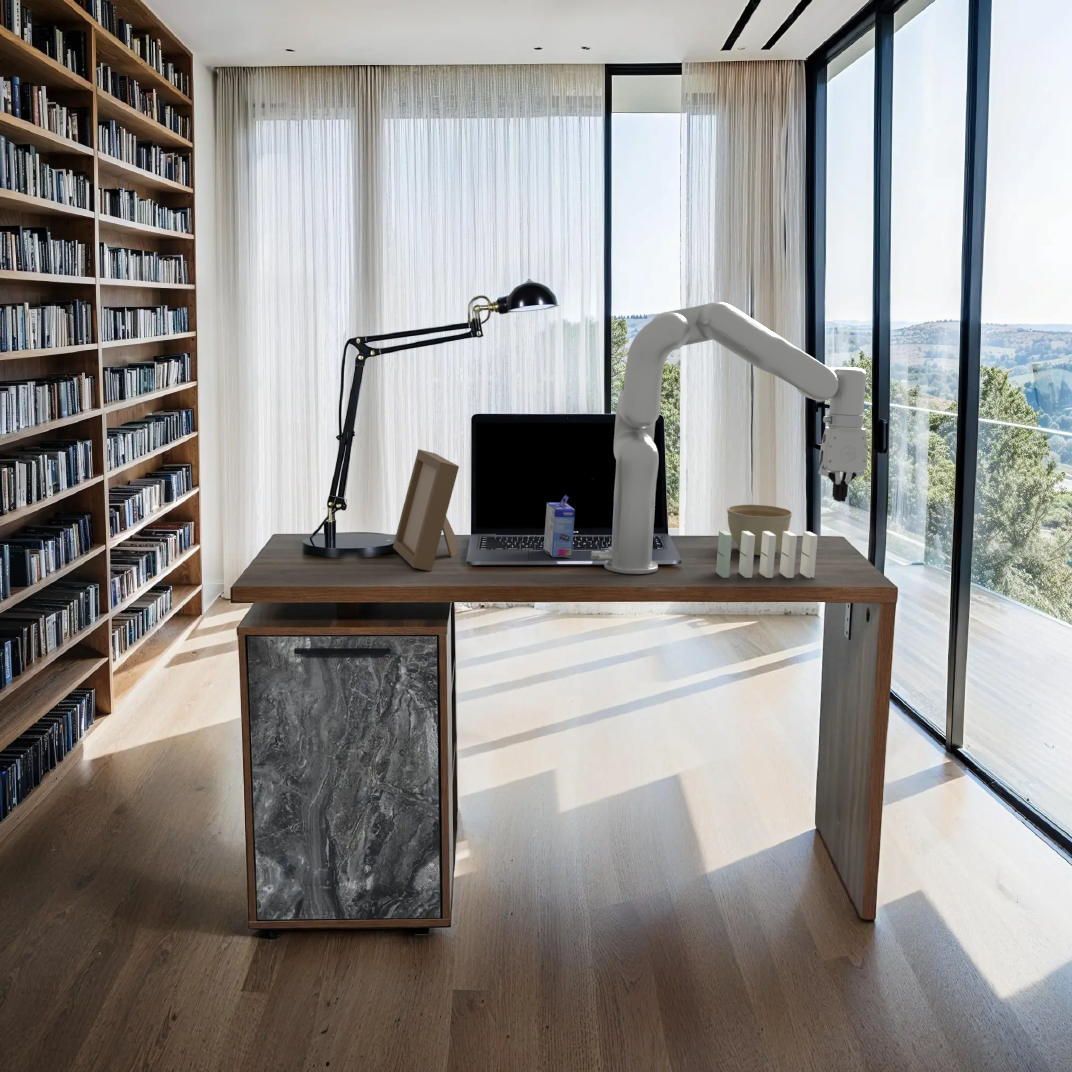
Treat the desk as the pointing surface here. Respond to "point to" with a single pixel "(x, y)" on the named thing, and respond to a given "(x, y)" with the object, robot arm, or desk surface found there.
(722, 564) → the domino
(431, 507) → the photo frame
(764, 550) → the domino
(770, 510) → the planter bowl
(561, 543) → the ink cartridge box
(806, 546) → the domino
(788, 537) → the domino
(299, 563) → the desk surface
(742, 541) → the domino
